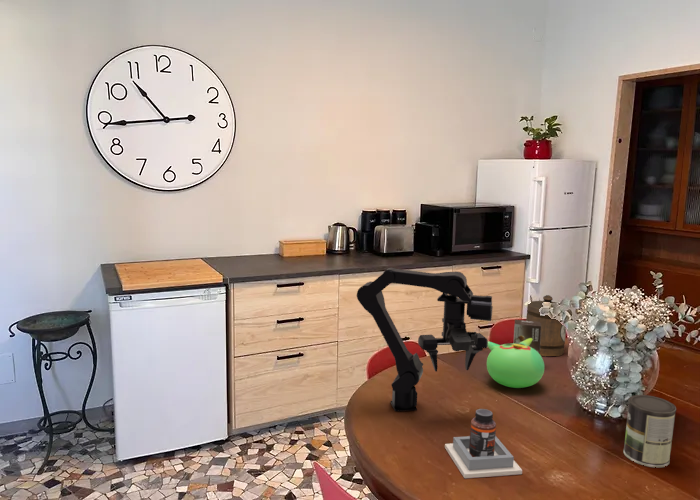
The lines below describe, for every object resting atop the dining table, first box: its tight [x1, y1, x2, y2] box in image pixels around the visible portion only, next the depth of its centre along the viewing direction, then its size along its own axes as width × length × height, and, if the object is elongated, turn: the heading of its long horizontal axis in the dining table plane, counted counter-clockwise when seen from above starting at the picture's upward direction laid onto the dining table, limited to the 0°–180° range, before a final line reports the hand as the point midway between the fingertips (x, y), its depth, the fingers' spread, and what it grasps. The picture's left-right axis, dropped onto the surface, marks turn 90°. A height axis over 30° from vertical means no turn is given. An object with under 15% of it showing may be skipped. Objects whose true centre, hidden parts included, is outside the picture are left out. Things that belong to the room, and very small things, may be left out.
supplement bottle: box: [469, 408, 497, 457], centre depth 134 cm, size 6×6×11 cm
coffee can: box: [622, 394, 677, 469], centre depth 137 cm, size 10×10×14 cm
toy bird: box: [486, 338, 545, 389], centre depth 180 cm, size 18×17×15 cm
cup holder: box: [444, 435, 523, 479], centre depth 134 cm, size 14×14×4 cm
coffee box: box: [513, 319, 541, 354], centre depth 198 cm, size 9×6×16 cm
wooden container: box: [525, 294, 567, 357], centre depth 214 cm, size 15×15×22 cm
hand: (451, 370), depth 158 cm, fingers open, 9 cm apart
